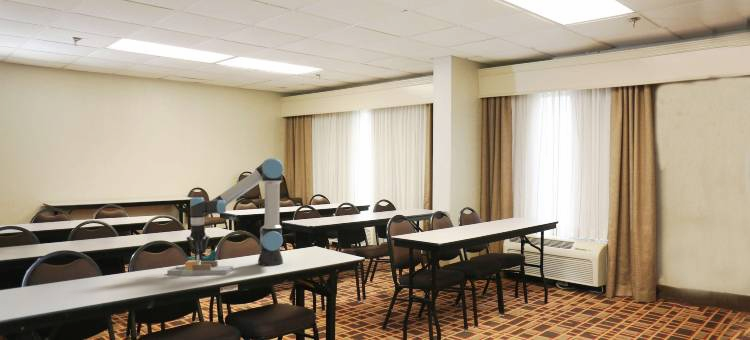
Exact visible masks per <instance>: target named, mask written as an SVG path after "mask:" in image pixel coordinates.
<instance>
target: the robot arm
mask: <svg viewBox="0 0 750 340" xmlns="http://www.w3.org/2000/svg"><path fill="white" fill-rule="evenodd" d="M283 174H284V164H283V163H282V161H281V160H280V159H278V158H276V157H270V158H267V159H265V160H264V161H263V162H262V163H261V164H259V165H258V166H257V167H256V168H255V169H254V171H253V172H251V173H250V174H248V175H247V176H246V177H244V178H243V179H241V180H240V181H238V182H236V184H234V185H232V186H231V187H229V188H228V189H226V190H225V191H224V192H222V193H221V194H219V195H218V196H216V197H215V198H213V199H212V200H205V198H204V197H202V196H201V197H192V198H191V199H189V200H190V204H189V205H190V206H189V207H190V208H189V211H190V233H189V234H190V235H189V236H187V237H186V240H187V241H188V245H189V246H188V247H189V248H190V253H191V254H192V255H194V257H195V260H197V265H201V260H202V256H203V254H205V253H206V251H207V246H208V243H209V239H210V236H209V235H207V234H206V232H205V231H206V225H205V224H206V223H205V215H207V214H209V215H211V214H225V213H226V212H227V209H226V207H227V206H228V205H230V204H231V203H233V202H234V201H235V200H237V199H239V198H240V197H242V196H243V195H244V194H246V193H247V192H249V191H250V190H251V189H253V188H254V187H256V186H257V185H259V184H260V183H263V184H264V223H263V224H264V225H262V226H261V227H260V229H259V234H260V235H259V238H260V240H259V241H260V243H259V244H260V245H259V246H260V253H259V256H258V258H257V259H258V260H257V265H258V266H266V267H267V266H279V265H282V264H283V263H284V259H283V256H282V253H281V250H280V249H281V246H282V245H283V242H284V239H283V226H282V225H281V224H280V197H281V195H280V190H281V189H280V188H281V185H280V184H281V183H283ZM203 240H204V241H203ZM198 251H199V253H198Z"/></svg>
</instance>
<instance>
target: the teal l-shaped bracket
mask: <svg viewBox="0 0 750 340" xmlns="http://www.w3.org/2000/svg"><path fill="white" fill-rule="evenodd" d="M198 253H199V250H198ZM189 260H195V256H187V257H186V262H187V261H189ZM201 261H216V251H215V250H211V251H210V253H209V255H207V256H204V255H202V260H201Z"/></svg>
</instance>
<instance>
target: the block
mask: <svg viewBox="0 0 750 340" xmlns="http://www.w3.org/2000/svg"><path fill="white" fill-rule="evenodd" d="M184 264H185V265H184V266H185V269H193V267H192V265H197V260H189V261H187V260H186V262H184Z"/></svg>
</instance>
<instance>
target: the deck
mask: <svg viewBox="0 0 750 340" xmlns="http://www.w3.org/2000/svg"><path fill="white" fill-rule="evenodd" d="M218 262H219V261H218V260H215V261H201V265H192V267H193V269H185V265H183V266H175V267H172V268H170V269H168V270H167V271H166V273H167V276H193V275H194V276H205V275H206V276H212V275H213V276H218V275H219V276H221V275H226V276H227V275H228V274H229V273H231V272H232V271H234V266H233V265H218Z"/></svg>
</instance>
